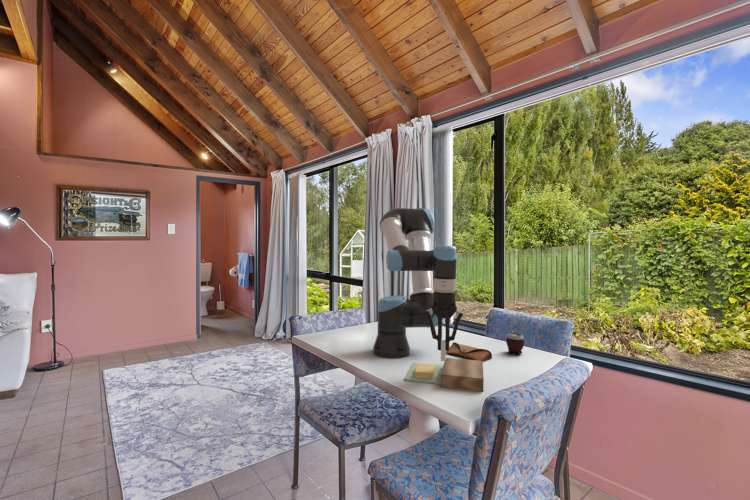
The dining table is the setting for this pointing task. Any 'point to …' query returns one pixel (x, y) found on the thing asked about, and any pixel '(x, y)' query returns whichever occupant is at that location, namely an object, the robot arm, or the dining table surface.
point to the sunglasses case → (469, 352)
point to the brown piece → (462, 374)
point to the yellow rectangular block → (425, 371)
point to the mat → (435, 379)
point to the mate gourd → (515, 341)
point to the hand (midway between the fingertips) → (443, 359)
